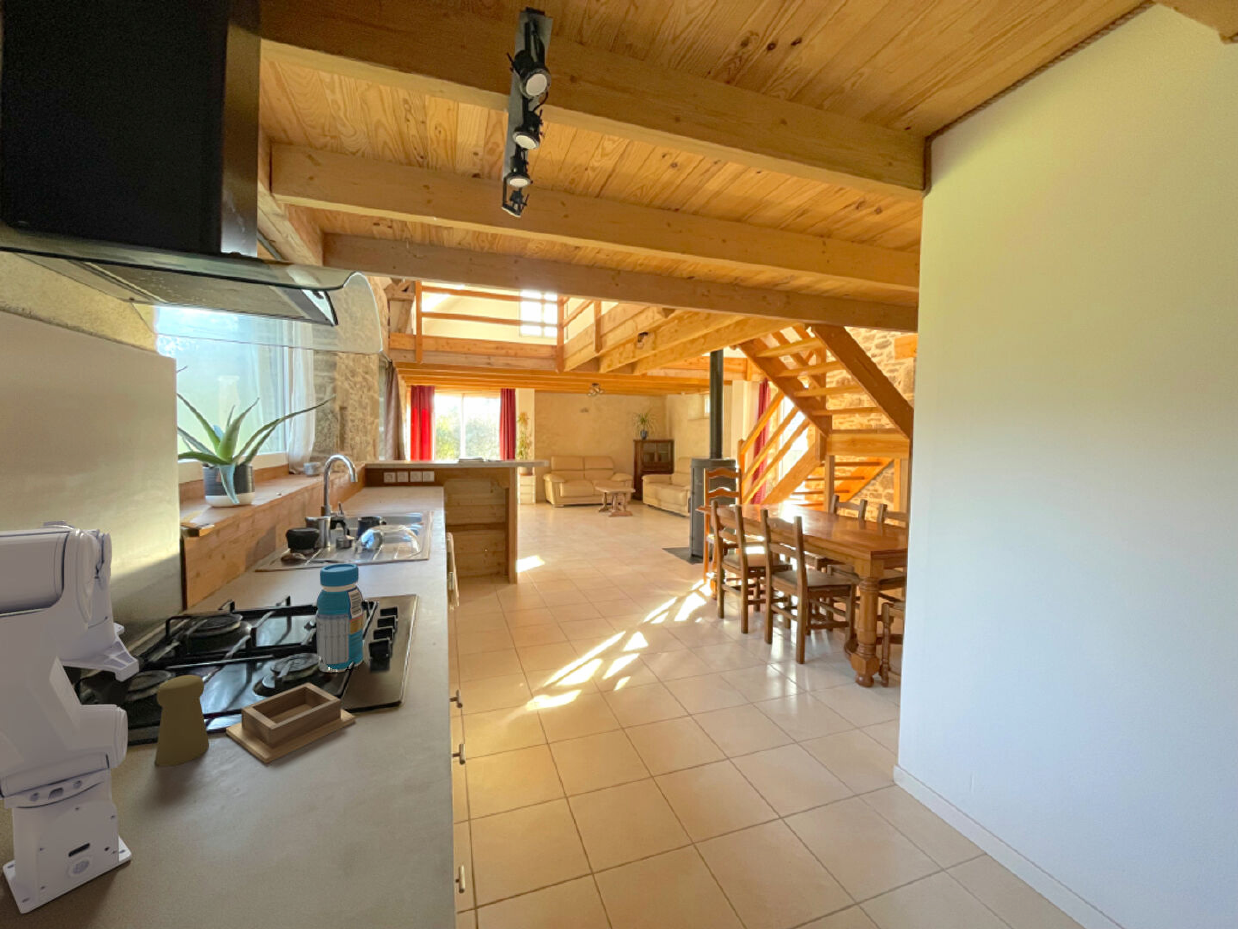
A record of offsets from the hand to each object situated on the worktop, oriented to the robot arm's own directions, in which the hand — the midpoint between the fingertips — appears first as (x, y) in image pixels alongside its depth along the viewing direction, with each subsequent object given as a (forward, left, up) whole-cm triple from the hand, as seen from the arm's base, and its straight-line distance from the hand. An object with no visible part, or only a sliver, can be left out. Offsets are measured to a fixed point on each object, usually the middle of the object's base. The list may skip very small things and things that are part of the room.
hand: (91, 695), depth 68 cm
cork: (-3, -8, -11) cm, 15 cm away
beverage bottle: (+6, -36, -11) cm, 39 cm away
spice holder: (-9, -20, -11) cm, 25 cm away
